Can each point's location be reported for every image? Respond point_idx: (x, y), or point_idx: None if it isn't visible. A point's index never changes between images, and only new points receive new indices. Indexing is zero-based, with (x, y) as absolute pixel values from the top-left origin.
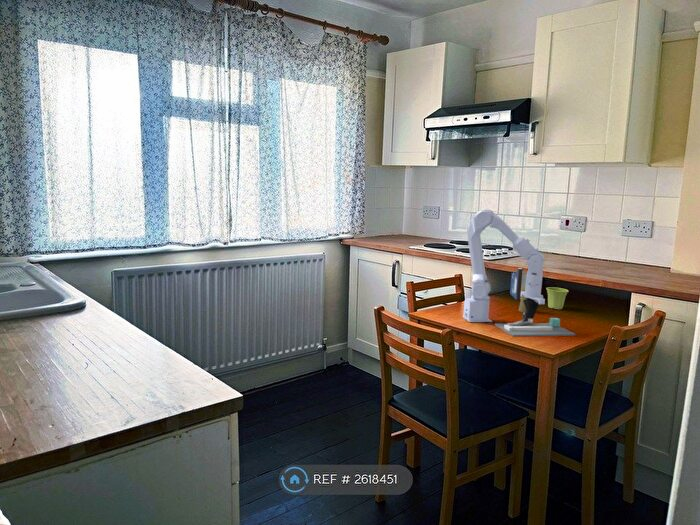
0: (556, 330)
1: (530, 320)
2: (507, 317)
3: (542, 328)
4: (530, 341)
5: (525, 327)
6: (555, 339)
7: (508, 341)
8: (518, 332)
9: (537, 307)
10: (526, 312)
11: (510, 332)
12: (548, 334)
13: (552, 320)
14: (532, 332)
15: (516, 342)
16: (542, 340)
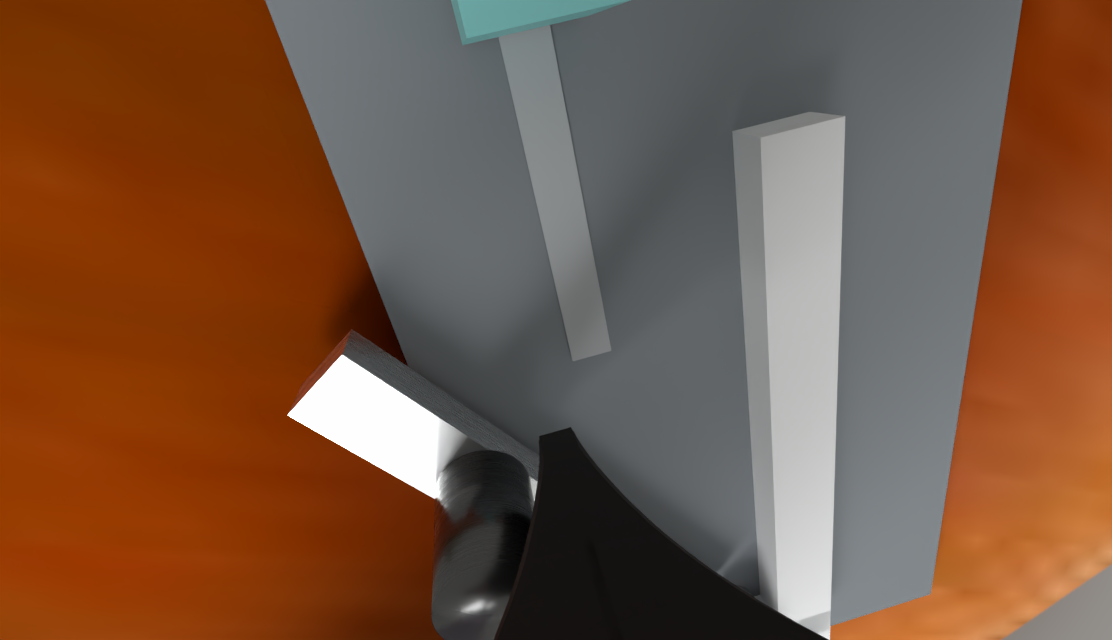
0: (809, 25)
1: (419, 398)
2: (23, 591)
3: (830, 294)
4: (1081, 466)
5: (827, 512)
6: (1104, 190)
7: (1032, 610)
8: (867, 549)
9: (728, 589)
10: (499, 601)
11: (861, 608)
12: (983, 246)
13: (594, 8)
14: (882, 422)
15: (1070, 565)
16: (1089, 354)
